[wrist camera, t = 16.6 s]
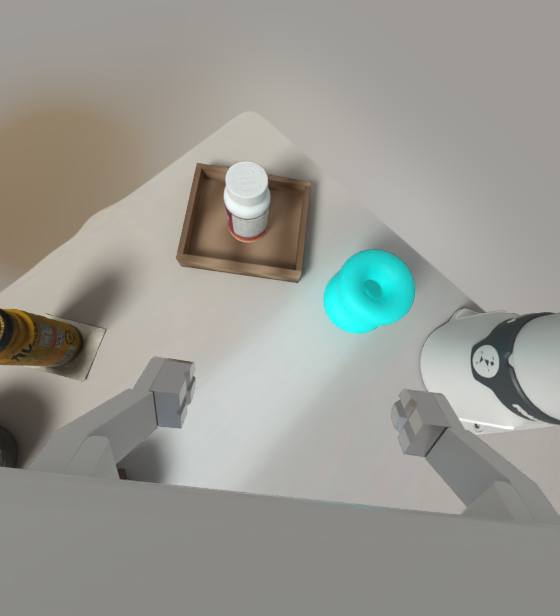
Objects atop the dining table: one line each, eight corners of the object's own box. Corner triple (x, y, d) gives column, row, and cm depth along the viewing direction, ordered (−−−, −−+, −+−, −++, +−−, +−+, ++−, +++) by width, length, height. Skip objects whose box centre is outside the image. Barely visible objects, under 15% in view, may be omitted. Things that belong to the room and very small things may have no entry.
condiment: (46, 314, 40) (-40, 289, 28) (106, 329, 40) (46, 311, 28) (22, 365, 38) (-80, 362, 26) (85, 381, 38) (11, 385, 26)
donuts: (418, 250, 36) (421, 327, 34) (383, 276, 46) (383, 337, 43) (342, 241, 35) (339, 319, 33) (323, 269, 45) (319, 331, 43)
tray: (307, 193, 48) (310, 182, 45) (297, 282, 44) (300, 276, 41) (200, 176, 47) (196, 162, 44) (181, 266, 43) (175, 258, 40)
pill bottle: (231, 206, 45) (224, 153, 34) (269, 211, 46) (274, 160, 35) (225, 241, 44) (216, 197, 33) (265, 246, 44) (269, 204, 33)
